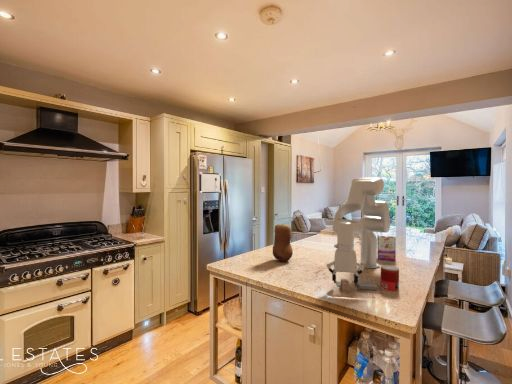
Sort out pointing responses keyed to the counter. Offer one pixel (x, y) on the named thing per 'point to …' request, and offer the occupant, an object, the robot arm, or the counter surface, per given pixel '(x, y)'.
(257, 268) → the counter surface
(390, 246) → the candy bar box
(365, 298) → the counter surface
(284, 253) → the butternut squash
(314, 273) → the counter surface
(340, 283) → the tall wooden pillar
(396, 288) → the canned food
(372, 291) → the board
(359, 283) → the tile
